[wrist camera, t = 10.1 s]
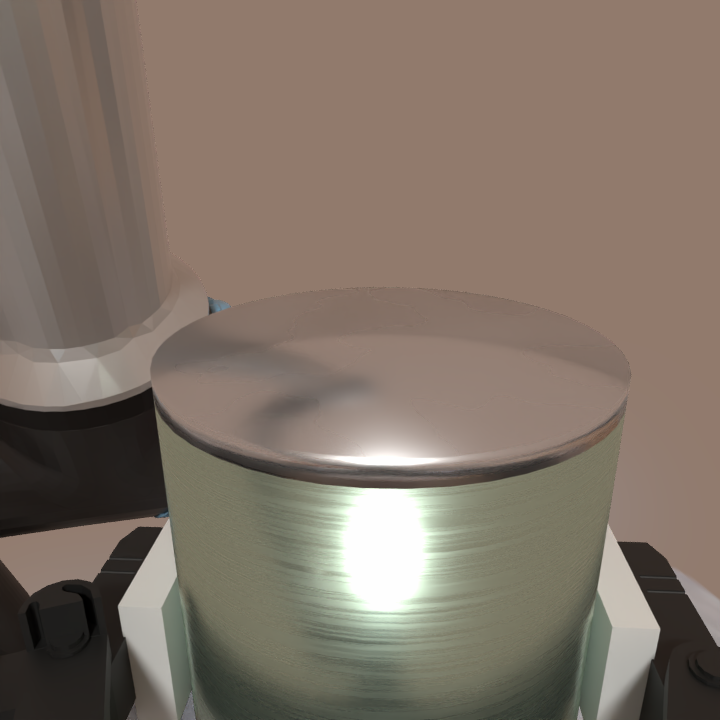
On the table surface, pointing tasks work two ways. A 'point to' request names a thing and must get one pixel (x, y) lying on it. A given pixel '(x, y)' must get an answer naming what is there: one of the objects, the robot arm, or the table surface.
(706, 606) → the table surface
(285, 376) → the green tin
